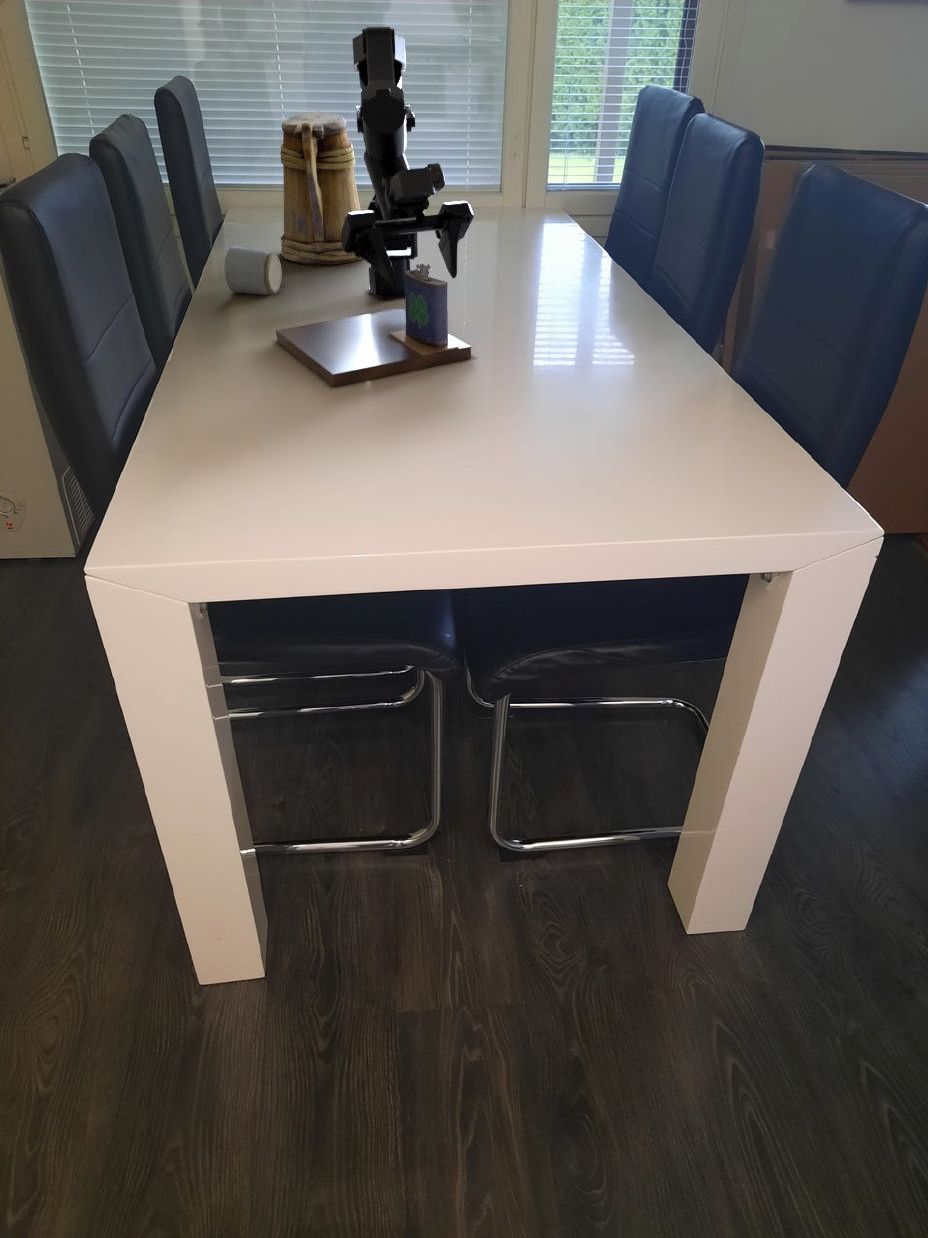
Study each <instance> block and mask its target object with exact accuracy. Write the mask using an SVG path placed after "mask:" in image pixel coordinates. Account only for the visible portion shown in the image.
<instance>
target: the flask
mask: <svg viewBox="0 0 928 1238" xmlns="http://www.w3.org/2000/svg"><path fill="white" fill-rule="evenodd" d="M415 267H416V268H415V269H410V271H406V272H405V273H404V279H405V296H404V301H405V304H404V305H405V308H404V309H405V316H406V335H407V336H408V337H410V338H412V339H413V340H416V341H419V342H421V343H424V344H427V345H430V346H431V347H437V348H444V347H445V346H448V343H449V340H448V334H449V320H448V319H449V318H448V317H449V311H448V287H449V286H448V285H449V284H448V282H447V281H445V280H441V279H438V278H434V277H433V276H432V277H431V276H429V275H430V269H431V265H430V264H427V265H426V264H424V263H420V264H419V263H417V264H416V265H415ZM442 344H444V345H445V346H443V345H442Z"/></svg>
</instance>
